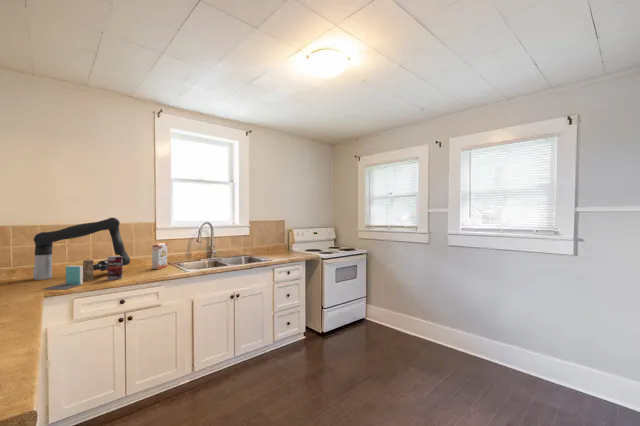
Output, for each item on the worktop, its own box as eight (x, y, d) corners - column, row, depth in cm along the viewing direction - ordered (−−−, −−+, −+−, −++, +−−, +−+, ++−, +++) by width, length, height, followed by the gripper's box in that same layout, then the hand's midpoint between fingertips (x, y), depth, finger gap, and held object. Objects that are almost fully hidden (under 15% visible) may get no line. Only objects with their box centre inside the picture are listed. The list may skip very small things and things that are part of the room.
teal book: (65, 284, 198) (65, 266, 198) (68, 283, 201) (68, 265, 201) (79, 284, 198) (79, 266, 198) (82, 283, 200) (82, 265, 200)
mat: (44, 289, 186) (44, 288, 186) (62, 284, 198) (62, 283, 198) (65, 289, 185) (65, 288, 185) (82, 284, 197) (82, 284, 197)
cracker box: (158, 269, 250) (158, 244, 250) (151, 269, 250) (151, 244, 250) (167, 266, 264) (167, 242, 264) (160, 266, 264) (160, 242, 264)
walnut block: (83, 281, 208) (83, 260, 208) (88, 279, 212) (88, 259, 212) (88, 281, 208) (88, 260, 208) (93, 279, 212) (93, 259, 212)
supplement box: (107, 280, 211) (107, 257, 211) (108, 278, 215) (108, 256, 215) (121, 278, 215) (121, 256, 215) (122, 277, 219) (122, 255, 219)
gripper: (97, 259, 227) (78, 263, 211) (115, 260, 226) (98, 263, 210) (97, 269, 227) (78, 274, 211) (115, 270, 226) (98, 274, 210)
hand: (88, 268), depth 210 cm, fingers open, 8 cm apart
